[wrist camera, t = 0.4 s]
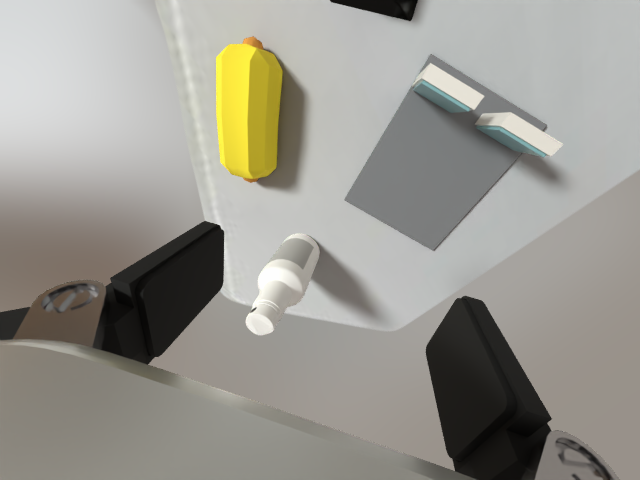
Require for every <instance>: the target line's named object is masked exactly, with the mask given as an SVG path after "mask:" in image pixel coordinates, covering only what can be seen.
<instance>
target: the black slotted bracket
mask: <svg viewBox="0 0 640 480" xmlns="http://www.w3.org/2000/svg"><path fill="white" fill-rule="evenodd" d="M330 1H331V2H333V3H337V4H342V5H346V6H350V7H354V8H358V9H362V10H367V11H371V12H375V13H379V14H383V15H387V16H391V17H396V18H400V19H404V20H408V21H411V20H412V17H413V14H414V11H415V7H416V4H417V1H418V0H330Z"/></svg>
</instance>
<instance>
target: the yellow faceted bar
mask: <svg viewBox="0 0 640 480" xmlns="http://www.w3.org/2000/svg"><path fill="white" fill-rule="evenodd" d="M282 75H283V70H282V69H281V67H280V65H279V63H278V61H277V59H276V57H275V55H274V54H272V53H270V52H268V51H265V50H263V46H262V43H261V42H260V41H259V40H257V39H256V38H255V37H249V38H246V39H244V41H243V44H229V45H228V46H227V47H226V48H225V49H224V50H223V51H222V52H221V53H220V54H219V55H218V56H217V57H216V114H217V126H218V138H219V150H220V162H221V163H222V164H223V165H224V166H225V168H226V169H227V170H228V171H229V172H230V173H231V174H232V175H236V176H239V177H243V179H244V180H246V181H248V182H250V183H251V182H255V181H258V178H261V177H266V176H268V175H269V174H271V173H272V172H273V171H274V170H275V169H276V167H277V142H278V120H279V109H280V97H281V86H282Z"/></svg>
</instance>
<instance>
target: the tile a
mask: <svg viewBox="0 0 640 480" xmlns="http://www.w3.org/2000/svg"><path fill="white" fill-rule="evenodd" d="M412 87H414V89H413V90H414V91H415V92H417V93H419V94H420V95H422V96H424V97H425V98H427V99H428V100H430V101H432V102H433V103H435V104H437V105H438V106H440V107H442V108H443V109H445V110H447V111H448V112H450V113H455V112H468V111H469V110H475V108H476V107H477V106H478V104H479V103H480V102H481V100H482V99H483V98H484V95H482V94H480V93H479V92H477V91H476V90H474V89H472V88H471V87H469V86H467V85H466V84H464V83H462V82H461V81H459V80H458V79H456V78H454V77H453V76H451V75H449V74H448V73H446V72H444V71H443V70H441V69H440V68H438V67H436V66H435V65H433V64H431V63H430V64H429V65H428V66H427V67H426V68H425V69H424V70H423V71H422V72H421V73H420V74H419V75H418V77H417V78H416V80H415V82H414V83H413V85H412Z"/></svg>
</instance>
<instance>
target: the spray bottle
mask: <svg viewBox="0 0 640 480" xmlns="http://www.w3.org/2000/svg"><path fill="white" fill-rule="evenodd" d="M319 255H320V251H319V247H318V245H317V243H316V242H315V241H314V240H313V239H312V238H311V237H309V236H308V235H305V234H293V235H290V236H289V237H288V238H286V239H285V241H284V242H283V243H282V245H281V246H280V247H279V249H278V250H277V251H276V253H275V254H274V255H273V257H272V258H271V259H270V261H269V262H268V264H267V265H266V266H265V268H264V269H263V270H262V272H261V273H260V275H259V277H258V287H259V291H260V293H259V296H258V297H257V299H256V300H255V302H254V303H253V305H252V310H251V312H250V313H249V315H248V316H247V318H246V325H247V327H248V328H249V330H250V331H252V332H253V333H255V334H257V335H264V334H268V333H271V332H272V331H273V330H274V329H275V326H276V324H277V323H278V322H279V321H280V320H281V318H282V316H283V314H284V312H285V310H286V308H287V307H289V306H293V305H296V304H297V303H298V302H300V301H301V299H302V298H303V296H304V294H305V291H306V289H307V286H308V284H309V282H310V279H311V277H312V274H313V272H314V269H315V267H316V264H317V262H318V259H319Z"/></svg>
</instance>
